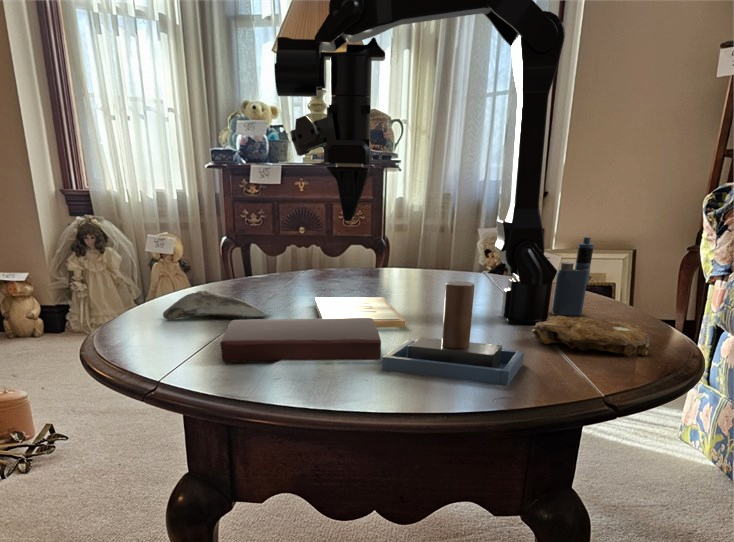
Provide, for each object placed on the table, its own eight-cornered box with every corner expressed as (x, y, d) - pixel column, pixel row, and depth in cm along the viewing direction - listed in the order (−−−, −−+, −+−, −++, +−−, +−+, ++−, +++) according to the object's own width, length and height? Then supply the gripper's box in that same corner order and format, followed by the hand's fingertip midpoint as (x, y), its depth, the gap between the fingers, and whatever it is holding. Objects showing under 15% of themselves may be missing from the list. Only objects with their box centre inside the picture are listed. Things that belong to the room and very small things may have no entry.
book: (381, 363, 80) (381, 337, 79) (221, 364, 79) (219, 337, 77) (372, 340, 91) (372, 316, 90) (232, 340, 90) (230, 316, 88)
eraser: (406, 367, 77) (410, 283, 73) (419, 357, 81) (424, 277, 77) (490, 377, 74) (500, 289, 69) (500, 366, 78) (509, 283, 74)
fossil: (256, 302, 98) (161, 288, 99) (253, 333, 100) (160, 319, 101) (275, 299, 109) (189, 286, 110) (273, 327, 110) (188, 314, 111)
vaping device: (584, 316, 108) (597, 238, 103) (553, 315, 108) (564, 238, 103) (580, 313, 111) (592, 237, 105) (549, 312, 111) (560, 236, 105)
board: (315, 306, 113) (315, 297, 113) (383, 305, 115) (383, 296, 114) (324, 331, 96) (324, 320, 95) (405, 330, 97) (405, 319, 97)
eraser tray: (381, 373, 76) (382, 356, 75) (408, 355, 84) (408, 339, 83) (506, 389, 71) (508, 371, 70) (522, 367, 79) (524, 351, 78)
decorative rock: (531, 358, 85) (651, 369, 82) (536, 327, 83) (660, 337, 80) (527, 334, 94) (635, 343, 92) (532, 305, 92) (643, 314, 90)
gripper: (300, 103, 100) (302, 214, 107) (284, 89, 83) (287, 222, 90) (373, 104, 100) (370, 215, 107) (371, 91, 83) (368, 223, 90)
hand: (349, 218), depth 98 cm, fingers open, 9 cm apart
